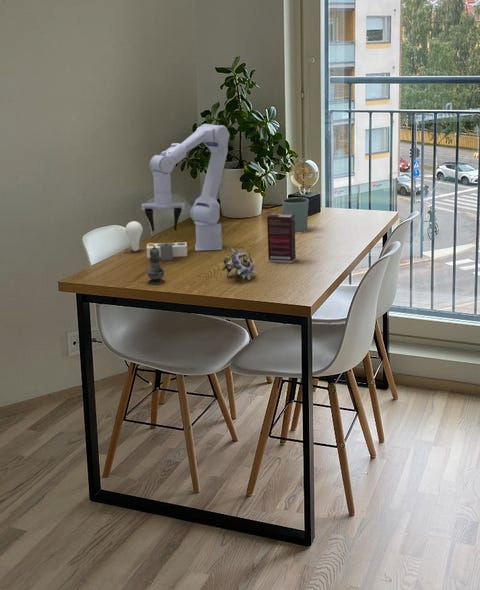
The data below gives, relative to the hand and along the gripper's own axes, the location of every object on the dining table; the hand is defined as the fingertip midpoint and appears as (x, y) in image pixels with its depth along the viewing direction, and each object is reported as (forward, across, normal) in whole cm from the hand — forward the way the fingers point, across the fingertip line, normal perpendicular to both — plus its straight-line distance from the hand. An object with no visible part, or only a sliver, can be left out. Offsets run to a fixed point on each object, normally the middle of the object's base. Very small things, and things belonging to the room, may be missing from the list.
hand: (164, 230), depth 307 cm
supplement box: (+10, +40, -8) cm, 42 cm away
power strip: (+10, 0, +5) cm, 11 cm away
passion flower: (+10, +24, -27) cm, 38 cm away
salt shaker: (+11, -2, -28) cm, 30 cm away
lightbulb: (+10, -11, +12) cm, 20 cm away
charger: (+10, +1, 0) cm, 10 cm away
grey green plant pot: (+10, +48, +35) cm, 61 cm away
